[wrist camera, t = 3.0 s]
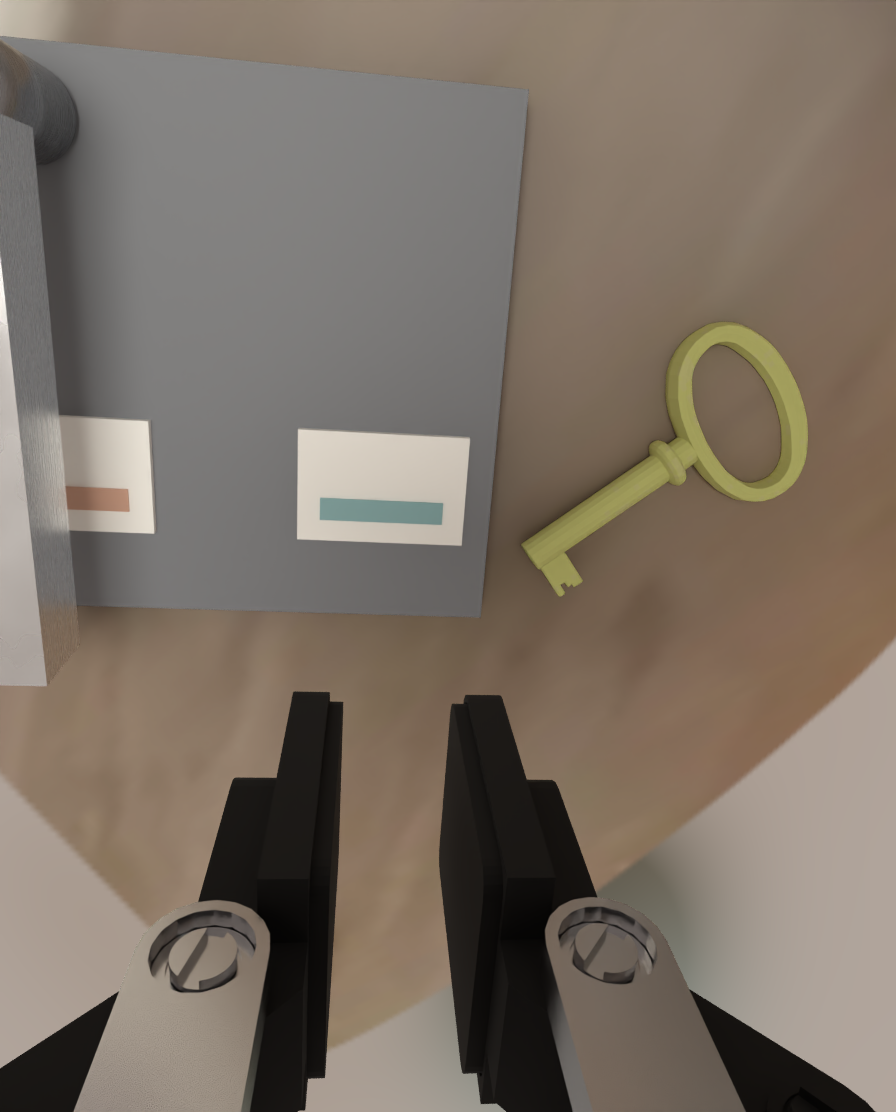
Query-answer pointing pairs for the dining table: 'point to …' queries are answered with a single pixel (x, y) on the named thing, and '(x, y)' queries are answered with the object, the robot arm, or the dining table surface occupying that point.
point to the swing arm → (30, 388)
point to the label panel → (278, 330)
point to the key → (683, 451)
